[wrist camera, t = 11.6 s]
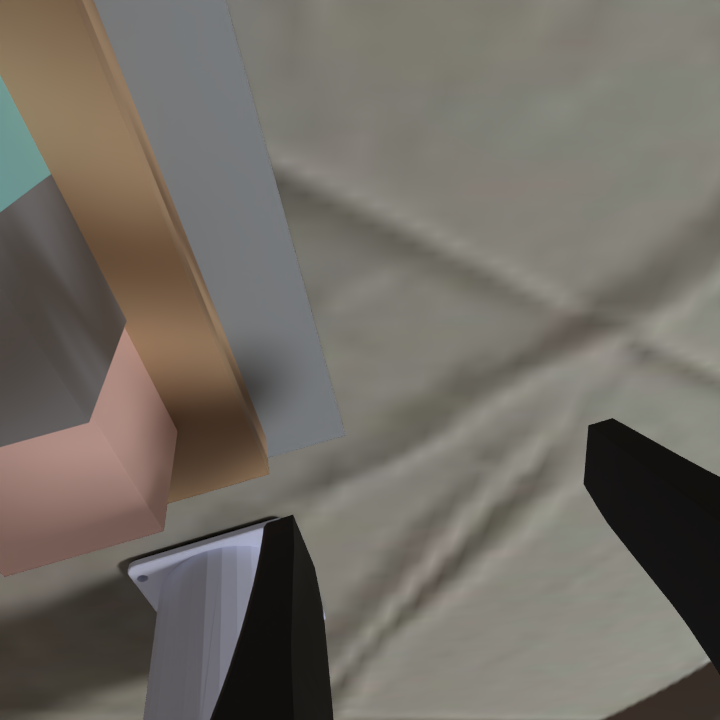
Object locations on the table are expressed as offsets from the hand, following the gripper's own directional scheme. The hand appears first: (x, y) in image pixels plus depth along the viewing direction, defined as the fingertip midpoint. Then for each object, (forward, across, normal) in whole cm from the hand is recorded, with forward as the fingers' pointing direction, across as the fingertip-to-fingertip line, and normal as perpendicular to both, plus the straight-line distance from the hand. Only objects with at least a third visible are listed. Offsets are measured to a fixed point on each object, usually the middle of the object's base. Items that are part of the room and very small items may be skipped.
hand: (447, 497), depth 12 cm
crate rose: (+6, +9, -2) cm, 11 cm away
